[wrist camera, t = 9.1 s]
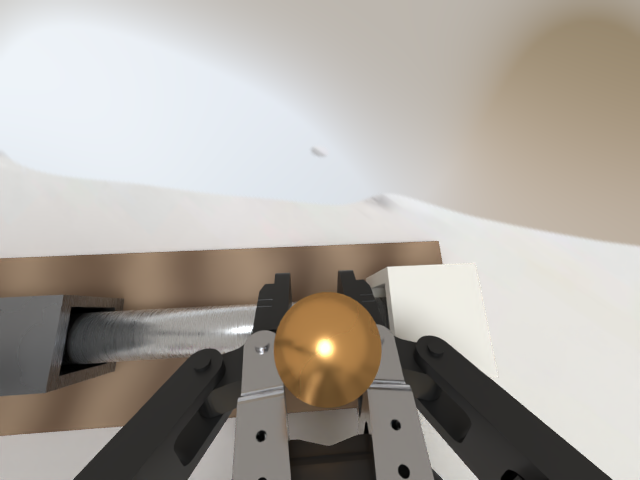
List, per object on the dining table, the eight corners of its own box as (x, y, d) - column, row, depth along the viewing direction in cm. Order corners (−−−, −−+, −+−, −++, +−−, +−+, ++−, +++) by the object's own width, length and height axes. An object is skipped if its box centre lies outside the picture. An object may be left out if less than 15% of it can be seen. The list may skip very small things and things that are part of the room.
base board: (-153, 442, 16) (-181, 449, 16) (-93, 265, 19) (-114, 262, 18) (457, 394, 19) (465, 399, 18) (432, 244, 22) (438, 241, 21)
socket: (373, 363, 18) (400, 384, 13) (365, 278, 20) (387, 266, 14) (444, 358, 19) (498, 377, 13) (431, 275, 20) (475, 262, 15)
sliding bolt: (70, 361, 16) (-487, 481, 5) (78, 313, 17) (-392, 320, 6) (419, 339, 18) (629, 391, 6) (413, 296, 18) (592, 272, 7)
